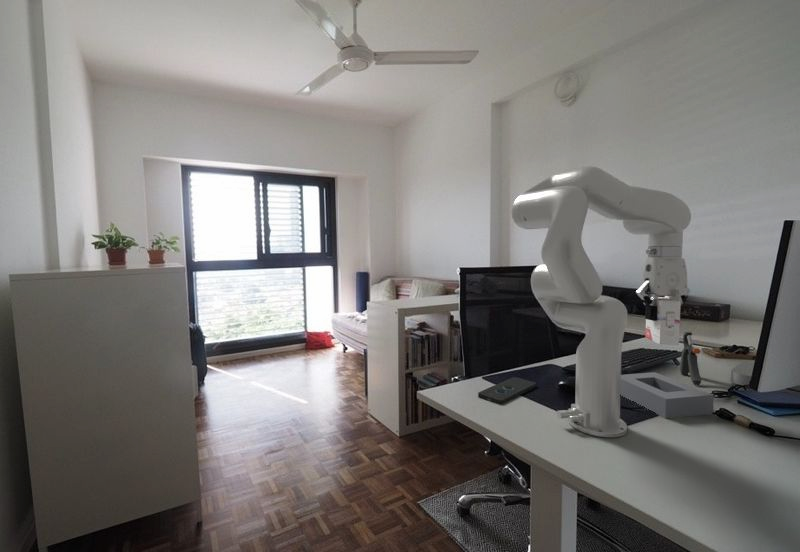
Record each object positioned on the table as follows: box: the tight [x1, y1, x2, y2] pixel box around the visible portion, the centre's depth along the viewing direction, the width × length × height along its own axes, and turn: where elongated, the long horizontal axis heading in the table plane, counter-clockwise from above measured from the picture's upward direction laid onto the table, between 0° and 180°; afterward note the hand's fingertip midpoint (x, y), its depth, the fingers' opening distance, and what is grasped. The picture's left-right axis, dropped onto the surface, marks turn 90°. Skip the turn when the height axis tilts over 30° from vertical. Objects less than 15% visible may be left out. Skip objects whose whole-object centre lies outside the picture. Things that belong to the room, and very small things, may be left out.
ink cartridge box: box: [644, 289, 682, 346], centre depth 101 cm, size 9×5×15 cm, turn 169°
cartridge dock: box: [620, 372, 715, 419], centre depth 103 cm, size 14×18×5 cm
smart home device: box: [477, 376, 537, 405], centre depth 112 cm, size 8×2×20 cm
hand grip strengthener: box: [679, 331, 702, 386], centre depth 119 cm, size 2×12×15 cm, turn 159°
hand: (662, 318), depth 101 cm, fingers closed on ink cartridge box, 6 cm apart
